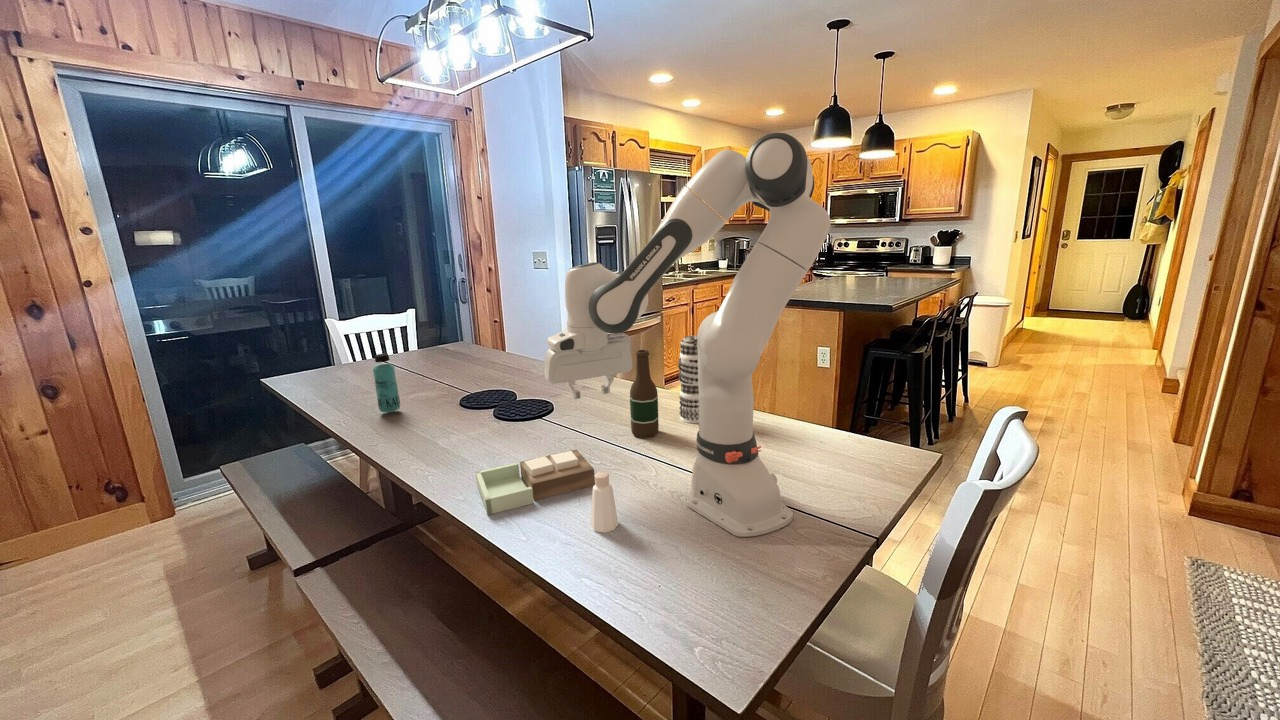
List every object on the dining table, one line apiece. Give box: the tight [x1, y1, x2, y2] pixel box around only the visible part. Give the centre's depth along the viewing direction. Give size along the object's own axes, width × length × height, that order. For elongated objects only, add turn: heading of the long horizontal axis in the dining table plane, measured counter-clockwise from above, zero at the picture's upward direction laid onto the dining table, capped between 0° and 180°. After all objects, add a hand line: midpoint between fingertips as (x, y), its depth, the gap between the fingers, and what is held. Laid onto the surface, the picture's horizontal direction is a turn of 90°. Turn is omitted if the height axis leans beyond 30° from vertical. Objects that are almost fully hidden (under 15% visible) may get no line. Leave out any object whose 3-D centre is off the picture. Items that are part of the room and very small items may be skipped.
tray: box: [475, 462, 534, 516], centre depth 112 cm, size 14×10×4 cm
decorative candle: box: [677, 335, 699, 424], centre depth 149 cm, size 9×9×25 cm
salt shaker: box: [590, 471, 619, 534], centre depth 98 cm, size 5×5×11 cm
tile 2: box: [550, 450, 578, 470], centre depth 117 cm, size 5×5×2 cm
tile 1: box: [524, 455, 554, 477], centre depth 114 cm, size 5×5×2 cm
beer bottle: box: [629, 349, 660, 440], centre depth 139 cm, size 8×8×24 cm
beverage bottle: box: [372, 353, 401, 413], centre depth 163 cm, size 6×7×20 cm
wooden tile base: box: [519, 448, 596, 502], centre depth 117 cm, size 12×14×4 cm
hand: (591, 395), depth 116 cm, fingers open, 6 cm apart
